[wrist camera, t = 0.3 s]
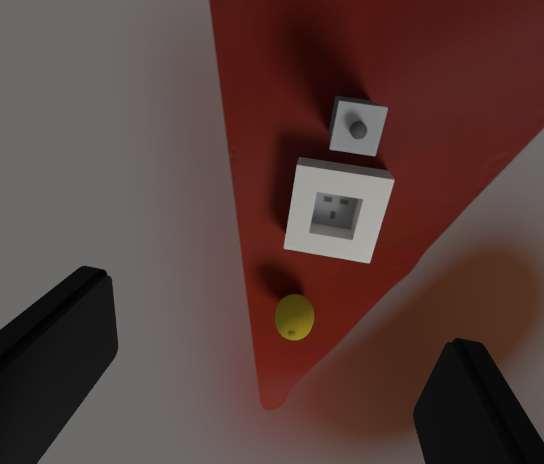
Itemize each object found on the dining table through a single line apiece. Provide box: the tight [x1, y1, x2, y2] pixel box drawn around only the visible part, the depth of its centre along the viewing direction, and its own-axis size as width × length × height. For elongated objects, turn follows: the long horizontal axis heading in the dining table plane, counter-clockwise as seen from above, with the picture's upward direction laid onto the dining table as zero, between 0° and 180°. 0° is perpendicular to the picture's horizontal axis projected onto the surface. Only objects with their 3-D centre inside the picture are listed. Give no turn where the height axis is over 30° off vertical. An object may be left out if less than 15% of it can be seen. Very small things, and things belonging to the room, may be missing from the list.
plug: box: [329, 96, 388, 156], centre depth 33 cm, size 4×4×11 cm
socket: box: [284, 157, 394, 263], centre depth 41 cm, size 11×11×4 cm
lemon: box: [275, 294, 314, 340], centre depth 47 cm, size 6×6×8 cm
